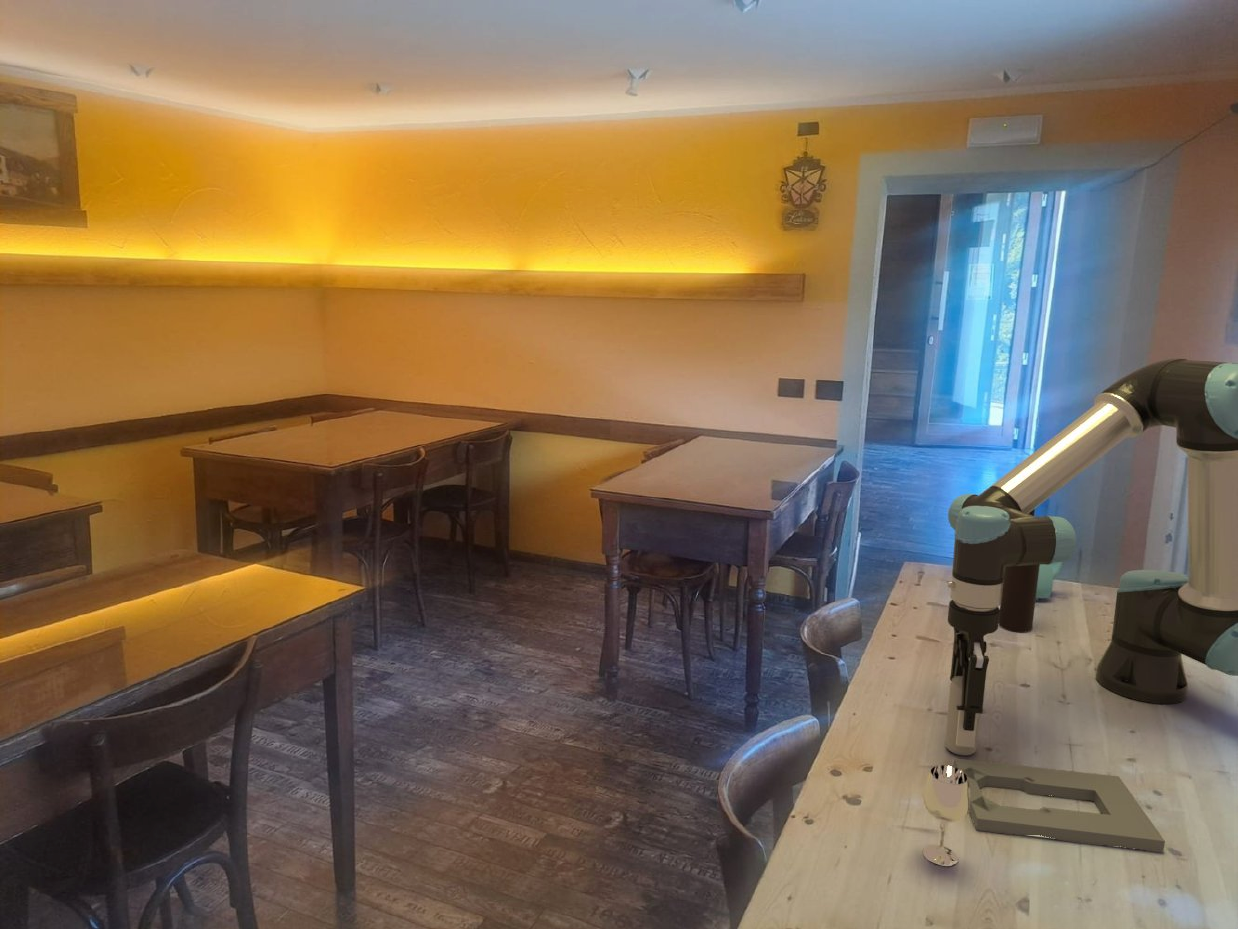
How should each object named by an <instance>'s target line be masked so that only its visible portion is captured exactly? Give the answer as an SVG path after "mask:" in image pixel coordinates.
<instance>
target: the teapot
mask: <svg viewBox="0 0 1238 929" xmlns="http://www.w3.org/2000/svg"><path fill="white" fill-rule="evenodd" d="M1075 552H1076V551H1075ZM1075 552H1074V554H1075ZM1063 563H1064V562H1058V563H1052V564H1050V565H1045V564H1041V565H1040V567H1039V576H1038V584H1037V592H1036V600H1035V602H1039V601H1040V600H1039V599H1049V598H1050V597H1051V594H1052V592H1053V587H1054V586H1053V584H1054V583H1053V582H1054V580H1056V579H1057V577H1059V575H1060V574H1061V573H1060V572H1061V571H1062V567H1063Z"/></svg>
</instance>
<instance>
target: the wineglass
mask: <svg viewBox="0 0 1238 929" xmlns="http://www.w3.org/2000/svg"><path fill="white" fill-rule="evenodd" d="M923 788H924V789H923V794H922V797H923V805H924V807H925V809H926V811H927V812H928V814H929V815H931V816H932V817H933V818H935V819H936V820H938V821H940V822H939V829H940V838H939V839H940V840H939V844H930V845H927V846H925V847H924V848H923V850H922V853H923V854H922V855H923V856H924V858H925V857H926V858H925V860H927V861H928V862H930V861H932V862H934V863H936V864H938V863H939V864H940V865H944V864H945V865H949V864H950V862H952V861H958V862H959V857H957V856H958V854H956V852H955V851H954V850H952V849H950V848H949V847H947V846H944V844H945V836H946V833H947V831H948V826H949V824H948V823H951V824H952V823H957V822H960V821H962V820H963V819H964V818H966V817H967V815H968V813H969V807H970V787H969V781H968V777H967V775H966V774H965V773H964V772H963V771H961V770H960V769H957V768H955V767H954V766H951V765H946V764H945V765H944V764H938V765H933V766H932V767H931V768H930V771H929V773H928V774H927V778H926V780H925V783H924V787H923ZM952 863H953V862H952ZM945 865H944V866H945Z"/></svg>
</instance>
